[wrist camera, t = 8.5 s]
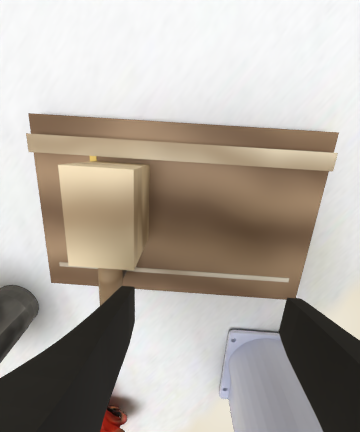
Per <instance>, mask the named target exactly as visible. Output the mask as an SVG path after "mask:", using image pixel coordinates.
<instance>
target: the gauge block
mask: <svg viewBox="0 0 360 432" xmlns="http://www.w3.org/2000/svg"><path fill="white" fill-rule="evenodd" d="M58 170H59V179H60V189H61V198H62V208H63V217H64V227H65V236H66V246H67V255H68V265H69V266H77V267H92V268H98V280H99V297H100V306H101V305H102V304H103V303H104V302H105V301H106V300H107V299H108V298H109V297H110V296H111V295H112V294H113V293H114V292H115V291H117V290H118V289H119V288H120V287H121V286H123V278H124V276H125V274H126V272H127V270H134V269H135V267H136V265H137V263H138V261H139V258H140V256H141V254H142V252H143V249H144V247H145V245H146V243H147V240H148V235H149V180H150V164H137V163H121V162H106V161H91V162H81V163H71V164H61V165H58Z"/></svg>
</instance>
